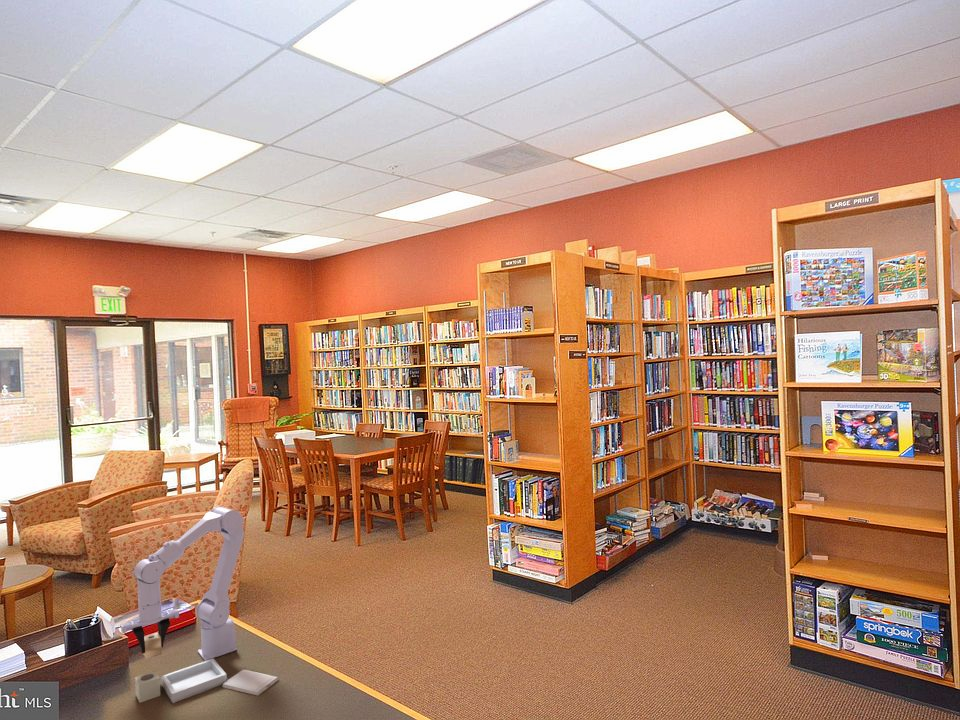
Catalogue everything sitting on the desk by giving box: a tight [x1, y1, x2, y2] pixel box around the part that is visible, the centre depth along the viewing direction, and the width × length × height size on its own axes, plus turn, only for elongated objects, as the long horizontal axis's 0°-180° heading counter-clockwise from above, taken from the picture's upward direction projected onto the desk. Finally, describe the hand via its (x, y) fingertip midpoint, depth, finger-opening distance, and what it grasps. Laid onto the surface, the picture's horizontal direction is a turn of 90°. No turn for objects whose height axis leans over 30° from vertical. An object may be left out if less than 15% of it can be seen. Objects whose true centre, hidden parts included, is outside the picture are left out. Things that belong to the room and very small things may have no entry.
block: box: [142, 631, 163, 660], centre depth 175 cm, size 4×4×5 cm
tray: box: [160, 658, 228, 704], centre depth 171 cm, size 14×12×2 cm
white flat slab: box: [222, 669, 280, 696], centre depth 170 cm, size 2×8×12 cm
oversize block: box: [134, 670, 161, 704], centre depth 166 cm, size 5×5×5 cm
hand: (152, 649), depth 175 cm, fingers closed on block, 4 cm apart
